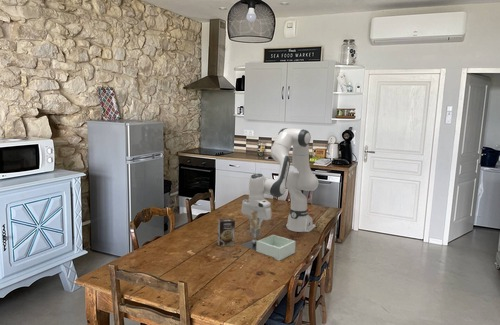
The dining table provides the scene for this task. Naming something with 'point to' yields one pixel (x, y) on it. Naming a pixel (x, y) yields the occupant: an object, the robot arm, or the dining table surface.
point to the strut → (254, 225)
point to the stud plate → (251, 244)
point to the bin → (276, 247)
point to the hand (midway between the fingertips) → (255, 224)
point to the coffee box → (226, 232)
